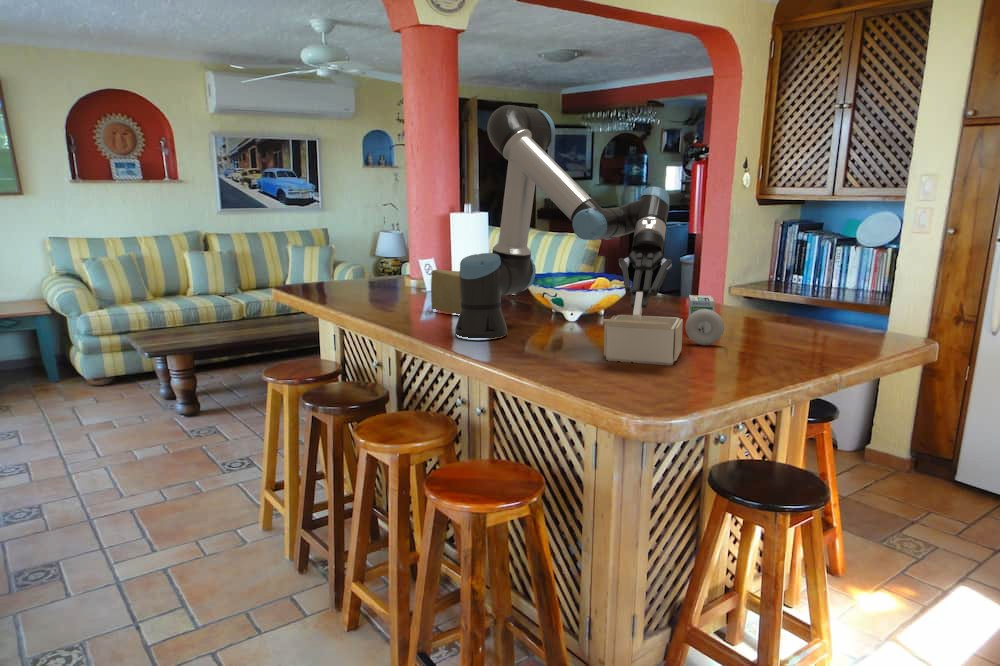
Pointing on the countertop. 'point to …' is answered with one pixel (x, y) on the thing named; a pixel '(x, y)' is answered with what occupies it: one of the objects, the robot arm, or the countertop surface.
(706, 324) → the light bulb box
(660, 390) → the countertop surface
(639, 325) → the flap
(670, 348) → the carton
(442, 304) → the brown box
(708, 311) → the donut
